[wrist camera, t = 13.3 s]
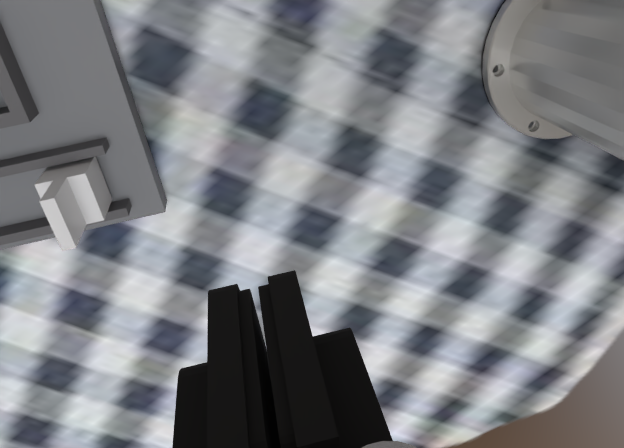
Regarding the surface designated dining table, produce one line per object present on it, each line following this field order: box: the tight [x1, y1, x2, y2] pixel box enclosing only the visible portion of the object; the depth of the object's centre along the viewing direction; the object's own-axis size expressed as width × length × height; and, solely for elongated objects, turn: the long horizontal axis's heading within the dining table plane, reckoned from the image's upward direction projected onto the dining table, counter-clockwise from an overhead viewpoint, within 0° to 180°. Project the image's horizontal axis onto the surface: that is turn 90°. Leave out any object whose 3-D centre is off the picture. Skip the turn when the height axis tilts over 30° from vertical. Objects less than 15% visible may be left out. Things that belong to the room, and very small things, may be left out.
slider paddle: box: [34, 157, 112, 251], centre depth 33 cm, size 3×3×6 cm
